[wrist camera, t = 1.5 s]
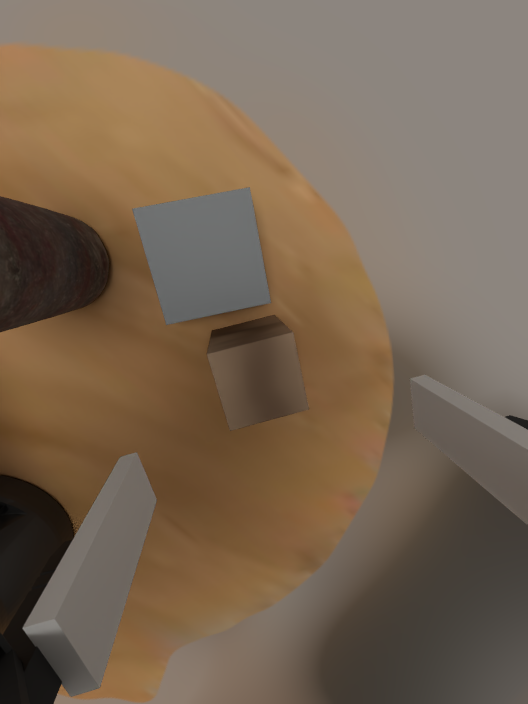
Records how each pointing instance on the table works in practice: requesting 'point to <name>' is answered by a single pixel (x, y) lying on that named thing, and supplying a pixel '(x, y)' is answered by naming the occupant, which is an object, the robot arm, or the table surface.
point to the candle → (46, 264)
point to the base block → (204, 254)
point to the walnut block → (256, 371)
